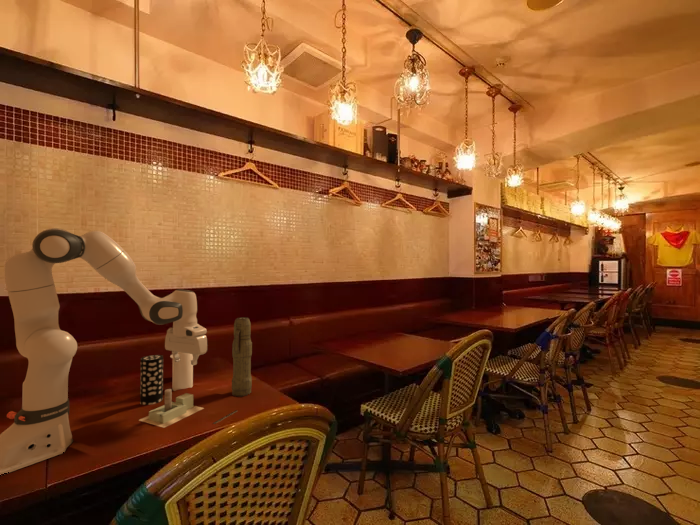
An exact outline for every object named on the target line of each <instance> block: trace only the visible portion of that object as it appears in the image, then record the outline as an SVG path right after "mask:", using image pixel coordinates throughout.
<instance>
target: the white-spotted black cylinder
mask: <svg viewBox="0 0 700 525" xmlns="http://www.w3.org/2000/svg"><path fill="white" fill-rule="evenodd" d="M139 380H140V387H139V388H140V389H139V390H140V391H139V392H140V393H139V394H140V395H139V396H140V399H139V405H143V406H149V405H157V404H159V403H160V402H162V401H164V400H163V399H164V396H163V395H164V393H163V390H164V355H161V354H154V355H153V354H152V355H146V356H142V357H141V358H140V379H139Z"/></svg>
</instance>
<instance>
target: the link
mask: <svg viewBox="0 0 700 525" xmlns="http://www.w3.org/2000/svg"><path fill="white" fill-rule="evenodd" d="M193 406H194V394H192V393H187V392H185V393H184V394H183V393H182V394H181V395H179V396H176V397H175V401H172V409H171V410H169V411H167V412H165V404H163V405H161V406H159V407H157V408H154V409H151V410H150V411H148V416H149V420H152V421H156V422H159V423H163V424H164V423H166V422H168V421H170V420H172V419H174V418H176V417H179V416H181V415H183V414H185V413H186V410H188V409H190V408H192V407H193Z"/></svg>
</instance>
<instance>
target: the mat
mask: <svg viewBox="0 0 700 525" xmlns="http://www.w3.org/2000/svg"><path fill="white" fill-rule="evenodd" d="M237 412H238V410H237V409H236V410H234V411H231V413H228V414H227V415H225V416H223V417H221V418H220V419H218V420H216V421H214V422H212V424H213V425H216V424H218V423H220V422H222V421H223V420H225V419H226V418H229V417H230V416H232V415H234V414H236V413H237Z"/></svg>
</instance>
